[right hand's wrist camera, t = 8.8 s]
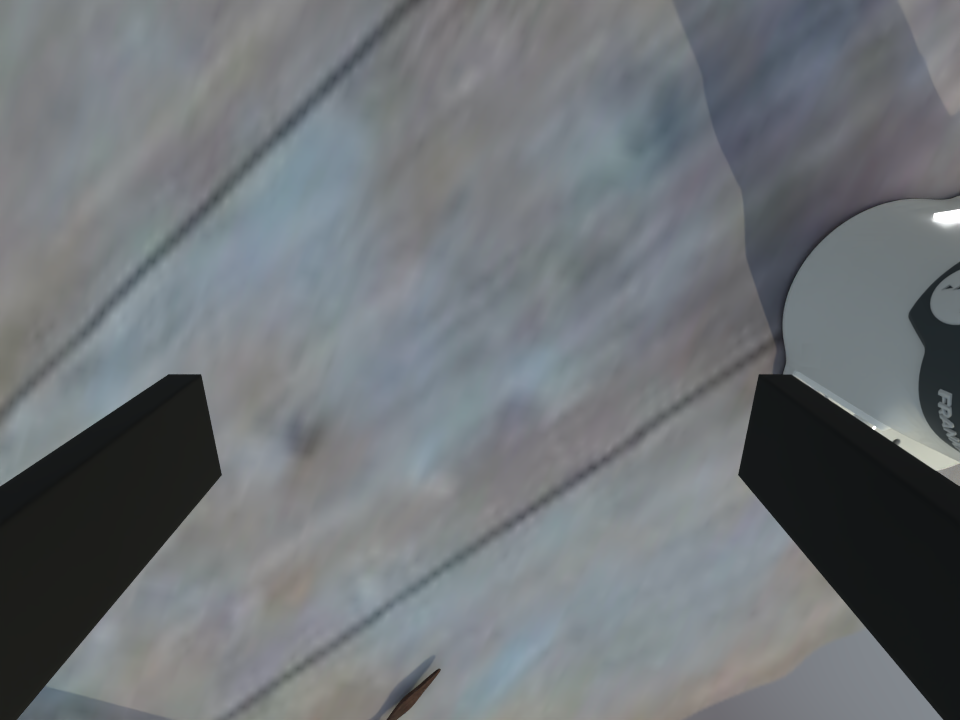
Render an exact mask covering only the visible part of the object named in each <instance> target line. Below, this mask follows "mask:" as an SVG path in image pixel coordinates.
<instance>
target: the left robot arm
mask: <svg viewBox="0 0 960 720" xmlns="http://www.w3.org/2000/svg"><path fill="white" fill-rule="evenodd" d="M782 331H783V340H784V345H785V351H786V365H785V368H784V372H783V374H791V375H793V376H794V377H796V378H797V379H799V380H800V381H802V382H803V383H805V384H806V385H808V386H809V387H811V388H812V389H814V390H815V391H817V392H818V393H820V394H821V395H823V396H824V397H826V398H827V399H829V400H830V401H832V402H833V403H835V404H836V405H838V406H839V407H841V408H842V409H844V410H845V411H847V412H848V413H850V414H851V415H853V416H854V417H856V418H857V419H859V420H860V421H862V422H863V423H865V424H866V425H868V426H869V427H871V428H872V429H874V430H875V431H877V432H878V433H880V434H881V435H883V436H884V437H886V438H887V439H889V440H890V441H892V442H893V443H895V444H896V445H898V446H899V447H901V448H902V449H904V450H905V451H907V452H908V453H910V454H911V455H913V456H914V457H916V458H917V459H919V460H920V461H922V462H923V463H925V464H926V465H928V466H929V467H931V468H932V469H934V470H935V471H938V470H942V469H945V468H949V467H952V466H954V465H957V464H959V463H960V195H959V196H957V197H954V198H951V199H944V200H934V199H903V200H897V201H892V202H888V203H884V204H881V205H878V206H875V207H873V208H870V209H868V210H866V211H863V212H861V213H859V214H857V215H856V216H854V217H852V218H850V219H849V220H847V221H846V222H844V223H843V224H841V225H840V226H838V227H837V228H836V229H835V230H833V231H832V232H831V233H830V234H829V235H828V236H826V237H825V238H824V239H823V240H822V241H821V242H820V243H819V244H818V245H817V246H816V248H815V249H814V250H813V251H812V252H811V253H810V255H809V256H808V257H807V259H806V260H805V261H804V263H803V264H802V266H801V268H800V269H799V271H798V273H797V274H796V276H795V278H794V280H793V282H792V285H791V287H790V290H789V292H788V295H787V299H786V302H785V307H784V312H783V323H782Z"/></svg>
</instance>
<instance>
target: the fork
mask: <svg viewBox="0 0 960 720" xmlns="http://www.w3.org/2000/svg"><path fill="white" fill-rule="evenodd" d="M440 670H441V669H437V670H436V671H435V672H434V673H432V674H431V675H430V676H429V677H428V678H426V679H425V680H424V681H423V682H422V683H421V684H420V685H418V686H417V687H416V688H415V689H414V690H412V691H411V692H410V693H409V694H407V695H406V696H405V697H404V698H403V699H402V700H401V701H400V702H399V704H398V705H397V706H396V708H395V709H394V710H393V712H392V713H391V714H390V716H389V717H388V719H387V720H397V719H398V718H399V717H401V716H402V715H403V714H404V713H406V712H407V711H408V710H409V709H410V708H411V707H412V706H413V705H414V704H415V703H416V701H417V700H418V699H419V697H420V696H421V695H422V693H423V692H424V691H425V690H426V688H427V687H428V686H429V685H430V684H431V682H432V681H433V680H434V679H435V677H436V676H437V675H438V673H439V672H440Z"/></svg>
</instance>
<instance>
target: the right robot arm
mask: <svg viewBox="0 0 960 720" xmlns="http://www.w3.org/2000/svg"><path fill="white" fill-rule="evenodd" d="M221 475H222V474H221V469H220V464H219V459H218V454H217V450H216V445H215V440H214V435H213V430H212V425H211V420H210V415H209V411H208V406H207V401H206V396H205V391H204V386H203V381H202V376H201V374H169V375H167V376H166V377H164V378H163V379H161V380H160V381H158V382H157V383H155V384H154V385H152V386H151V387H149V388H148V389H146V390H145V391H143V392H142V393H140V394H139V395H137V396H136V397H134V398H133V399H131V400H130V401H128V402H127V403H125V404H124V405H122V406H121V407H119V408H118V409H116V410H115V411H113V412H112V413H110V414H109V415H107V416H106V417H104V418H103V419H101V420H100V421H98V422H97V423H95V424H94V425H92V426H91V427H89V428H88V429H86V430H85V431H83V432H82V433H80V434H79V435H77V436H76V437H74V438H73V439H71V440H70V441H68V442H67V443H65V444H64V445H62V446H61V447H59V448H58V449H56V450H55V451H53V452H52V453H50V454H49V455H47V456H46V457H44V458H43V459H41V460H40V461H38V462H37V463H35V464H34V465H32V466H31V467H29V468H28V469H26V470H25V471H23V472H22V473H20V474H19V475H17V476H16V477H14V478H13V479H11V480H10V481H8V482H7V483H5V484H4V485H2V486H1V487H0V720H17V719H18V717H19V716H20V715H21V714H22V713H23V711H24V710H25V709H26V708H27V707H28V706H29V704H30V703H31V702H32V701H33V700H34V698H35V697H36V696H37V695H38V694H39V692H40V691H41V690H42V689H43V688H44V686H45V685H46V684H47V683H48V682H49V680H50V679H51V678H52V677H53V676H54V675H55V673H56V672H57V671H58V670H59V669H60V667H61V666H62V665H63V664H64V663H65V661H66V660H67V659H68V658H69V657H70V655H71V654H72V653H73V652H74V651H75V649H76V648H77V647H78V646H79V645H80V643H81V642H82V641H83V640H84V639H85V638H86V636H87V635H88V634H89V633H90V632H91V630H92V629H93V628H94V627H95V626H96V624H97V623H98V622H99V621H100V620H101V618H102V617H103V616H104V615H105V614H106V612H107V611H108V610H109V609H110V608H111V607H112V605H113V604H114V603H115V602H116V601H117V599H118V598H119V597H120V596H121V595H122V593H123V592H124V591H125V590H126V589H127V587H128V586H129V585H130V584H131V583H132V581H133V580H134V579H135V578H136V577H137V575H138V574H139V573H140V572H141V571H142V570H143V568H144V567H145V566H146V565H147V564H148V562H149V561H150V560H151V559H152V558H153V556H154V555H155V554H156V553H157V552H158V550H159V549H160V548H161V547H162V546H163V544H164V543H165V542H166V541H167V540H168V538H169V537H170V536H171V535H172V534H173V533H174V531H175V530H176V529H177V528H178V527H179V525H180V524H181V523H182V522H183V521H184V519H185V518H186V517H187V516H188V515H189V513H190V512H191V511H192V510H193V509H194V507H195V506H196V505H197V504H198V503H199V502H200V500H201V499H202V498H203V497H204V496H205V494H206V493H207V492H208V491H209V490H210V488H211V487H212V486H213V485H214V484H215V482H216V481H217V480H218V479H219V478H220V476H221ZM738 475H739V476H740V478H741V479H742V480H743V481H744V482H745V484H746V485H747V486H748V487H749V488H750V490H751V491H752V492H753V493H754V494H755V496H756V497H757V498H758V499H759V500H760V502H761V503H762V504H763V505H764V506H765V507H766V509H767V510H768V511H769V512H770V513H771V515H772V516H773V517H774V518H775V519H776V521H777V522H778V523H779V524H780V525H781V527H782V528H783V529H784V530H785V531H786V533H787V534H788V535H789V536H790V537H791V538H792V540H793V541H794V542H795V543H796V544H797V546H798V547H799V548H800V549H801V550H802V552H803V553H804V554H805V555H806V556H807V558H808V559H809V560H810V561H811V562H812V564H813V565H814V566H815V567H816V568H817V570H818V571H819V572H820V573H821V574H822V575H823V577H824V578H825V579H826V580H827V581H828V583H829V584H830V585H831V586H832V587H833V589H834V590H835V591H836V592H837V593H838V595H839V596H840V597H841V598H842V599H843V601H844V602H845V603H846V604H847V605H848V607H849V608H850V609H851V610H852V611H853V612H854V614H855V615H856V616H857V617H858V618H859V620H860V621H861V622H862V623H863V624H864V626H865V627H866V628H867V629H868V630H869V632H870V633H871V634H872V635H873V636H874V638H875V639H876V640H877V641H878V642H879V643H880V645H881V646H882V647H883V648H884V649H885V651H886V652H887V653H888V654H889V655H890V657H891V658H892V659H893V660H894V661H895V663H896V664H897V665H898V666H899V667H900V669H901V670H902V671H903V672H904V673H905V675H906V676H907V677H908V678H909V679H910V680H911V682H912V683H913V684H914V685H915V686H916V688H917V689H918V690H919V691H920V692H921V694H922V695H923V696H924V697H925V698H926V700H927V701H928V702H929V703H930V704H931V706H932V707H933V708H934V709H935V710H936V711H937V713H938V714H939V715H940V716H941V717H942V719H943V720H960V486H958V485H956V484H955V483H953V482H952V481H950V480H949V479H947V478H946V477H944V476H943V475H941V474H940V473H938V472H937V471H935V470H934V469H932V468H931V467H929V466H928V465H926V464H925V463H923V462H922V461H920V460H919V459H917V458H916V457H914V456H913V455H911V454H910V453H908V452H907V451H905V450H904V449H902V448H901V447H899V446H898V445H896V444H895V443H893V442H892V441H890V440H889V439H887V438H886V437H884V436H883V435H881V434H880V433H878V432H877V431H875V430H874V429H872V428H871V427H869V426H868V425H866V424H865V423H863V422H862V421H860V420H859V419H857V418H856V417H854V416H853V415H851V414H850V413H848V412H847V411H845V410H844V409H842V408H841V407H839V406H838V405H836V404H835V403H833V402H832V401H830V400H829V399H827V398H826V397H824V396H823V395H821V394H820V393H818V392H817V391H815V390H814V389H812V388H811V387H809V386H808V385H806V384H805V383H803V382H802V381H800V380H799V379H797V378H796V377H794V376H793V375H791V374H759V376H758V381H757V386H756V391H755V396H754V401H753V406H752V411H751V415H750V420H749V425H748V430H747V435H746V440H745V445H744V450H743V454H742V459H741V464H740V469H739V474H738Z"/></svg>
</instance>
